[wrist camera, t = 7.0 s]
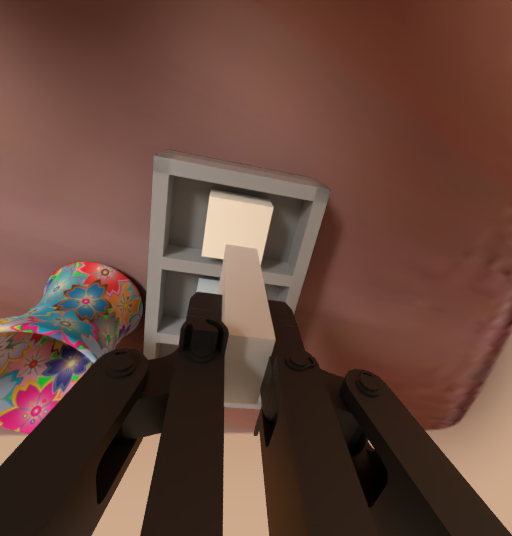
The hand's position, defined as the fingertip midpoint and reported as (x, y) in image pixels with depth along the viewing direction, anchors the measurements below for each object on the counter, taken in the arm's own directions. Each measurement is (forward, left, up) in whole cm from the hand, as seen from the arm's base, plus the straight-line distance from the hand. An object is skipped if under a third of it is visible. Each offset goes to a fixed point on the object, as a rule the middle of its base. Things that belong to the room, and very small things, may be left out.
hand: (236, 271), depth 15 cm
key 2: (+1, 0, -10) cm, 10 cm away
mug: (+11, -12, -13) cm, 21 cm away
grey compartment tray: (+8, 0, -12) cm, 14 cm away
